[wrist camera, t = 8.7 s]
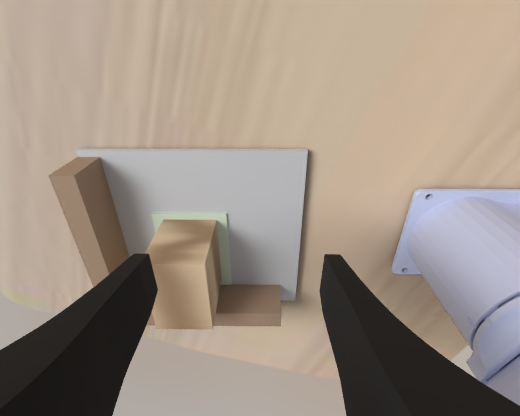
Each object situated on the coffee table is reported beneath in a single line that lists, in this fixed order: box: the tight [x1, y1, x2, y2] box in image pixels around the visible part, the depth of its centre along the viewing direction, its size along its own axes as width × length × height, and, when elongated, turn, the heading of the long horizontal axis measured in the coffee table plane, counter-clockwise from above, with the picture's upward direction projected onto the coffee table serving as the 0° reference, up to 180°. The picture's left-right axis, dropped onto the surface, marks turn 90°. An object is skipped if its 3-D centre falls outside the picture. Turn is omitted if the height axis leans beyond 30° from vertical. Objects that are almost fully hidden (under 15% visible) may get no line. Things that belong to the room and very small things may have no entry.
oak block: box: [145, 219, 222, 329], centre depth 21 cm, size 4×6×5 cm, turn 0°
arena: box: [49, 148, 308, 326], centre depth 22 cm, size 16×14×4 cm
